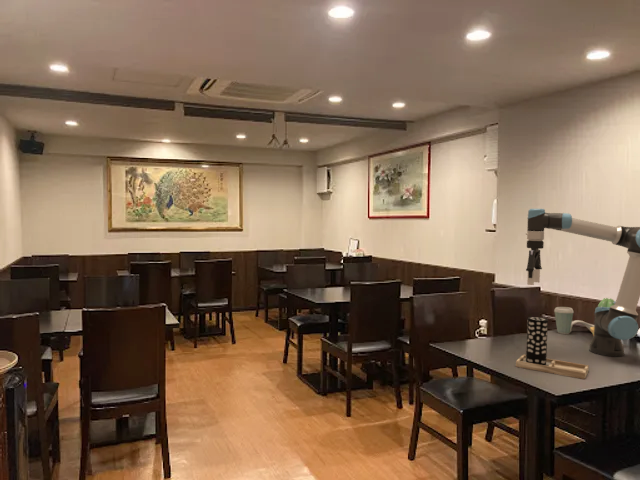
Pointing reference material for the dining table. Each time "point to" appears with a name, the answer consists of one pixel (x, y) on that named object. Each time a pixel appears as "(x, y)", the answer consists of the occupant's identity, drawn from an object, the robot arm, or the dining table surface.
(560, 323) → the disposable coffee cup
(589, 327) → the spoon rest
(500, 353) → the dining table surface
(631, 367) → the dining table surface
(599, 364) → the dining table surface
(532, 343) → the spotted tube
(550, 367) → the tray
